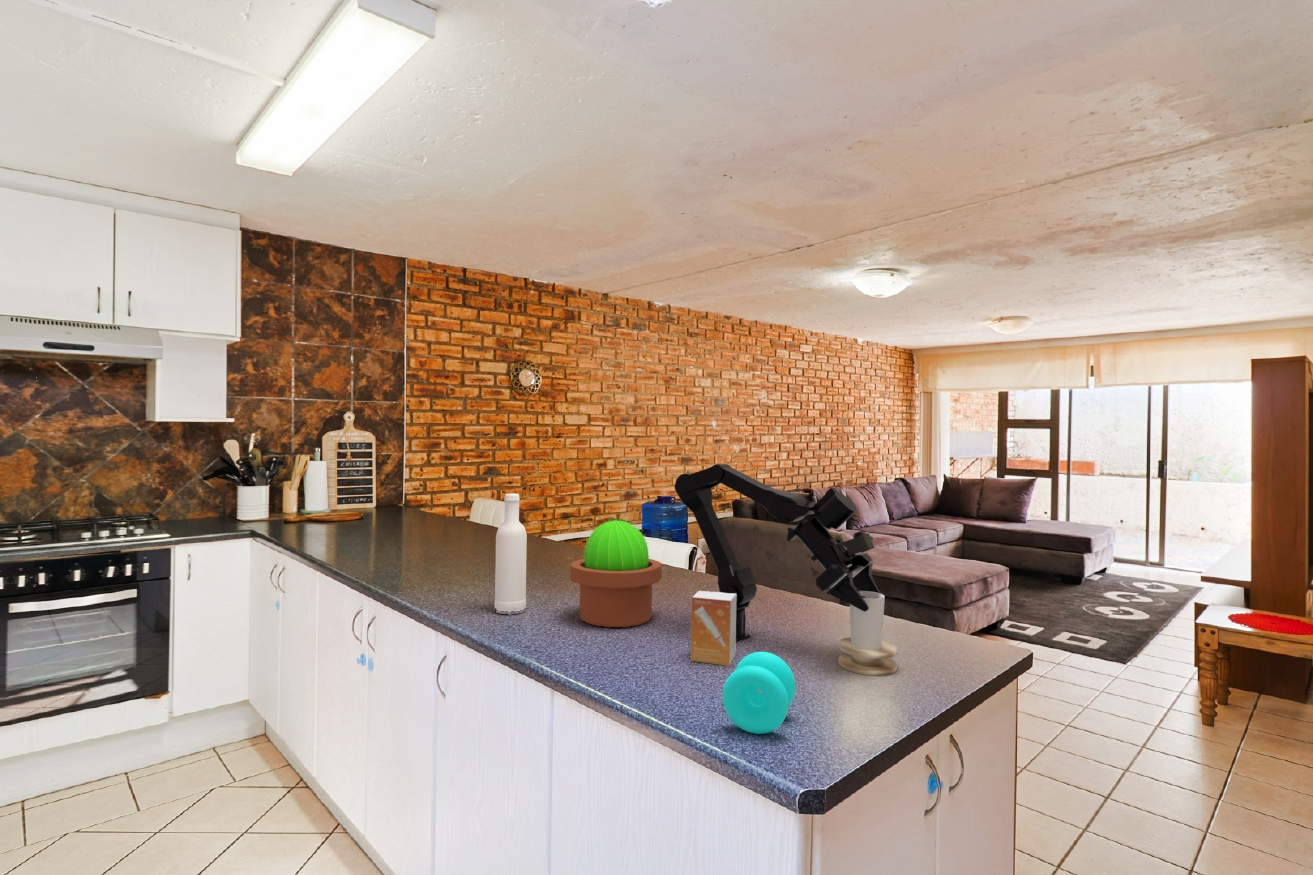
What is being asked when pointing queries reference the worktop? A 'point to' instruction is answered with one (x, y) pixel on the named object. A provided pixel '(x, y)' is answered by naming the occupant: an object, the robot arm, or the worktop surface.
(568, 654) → the worktop surface
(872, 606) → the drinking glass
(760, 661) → the turquoise yoyo
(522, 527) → the bottle
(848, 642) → the birch stand
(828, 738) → the worktop surface
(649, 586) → the potted cactus
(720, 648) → the small box
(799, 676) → the worktop surface
